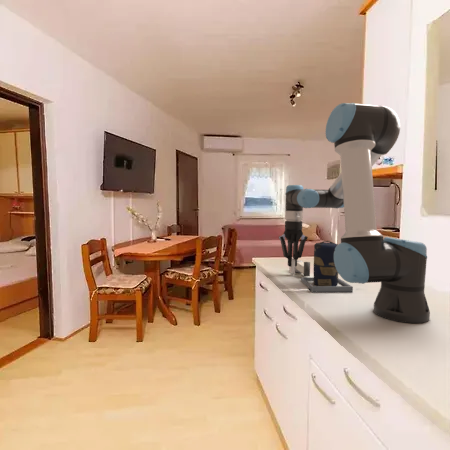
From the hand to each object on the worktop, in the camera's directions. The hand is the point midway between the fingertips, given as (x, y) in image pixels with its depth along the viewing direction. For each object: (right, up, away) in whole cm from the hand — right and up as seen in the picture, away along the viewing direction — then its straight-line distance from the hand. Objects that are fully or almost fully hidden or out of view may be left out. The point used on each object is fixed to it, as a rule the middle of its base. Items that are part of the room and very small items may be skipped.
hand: (292, 273), depth 146 cm
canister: (+10, -3, -15) cm, 19 cm away
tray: (+10, -3, -15) cm, 19 cm away
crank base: (+5, -1, +8) cm, 9 cm away
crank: (+5, -1, +2) cm, 6 cm away
